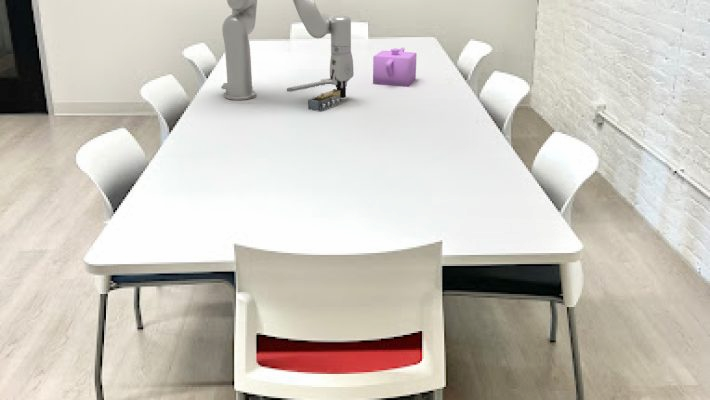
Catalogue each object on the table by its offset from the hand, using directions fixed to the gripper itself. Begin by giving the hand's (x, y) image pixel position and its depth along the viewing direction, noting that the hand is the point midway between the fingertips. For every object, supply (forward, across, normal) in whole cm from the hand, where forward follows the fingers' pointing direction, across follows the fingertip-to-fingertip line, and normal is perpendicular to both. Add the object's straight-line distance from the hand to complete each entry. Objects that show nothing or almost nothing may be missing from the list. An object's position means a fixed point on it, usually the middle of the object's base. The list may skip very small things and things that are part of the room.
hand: (341, 97), depth 291 cm
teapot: (+2, +39, -2) cm, 39 cm away
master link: (+1, -8, 0) cm, 8 cm away
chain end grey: (+1, -8, 0) cm, 8 cm away
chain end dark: (+1, -14, 0) cm, 14 cm away
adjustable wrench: (+2, +12, +23) cm, 26 cm away
